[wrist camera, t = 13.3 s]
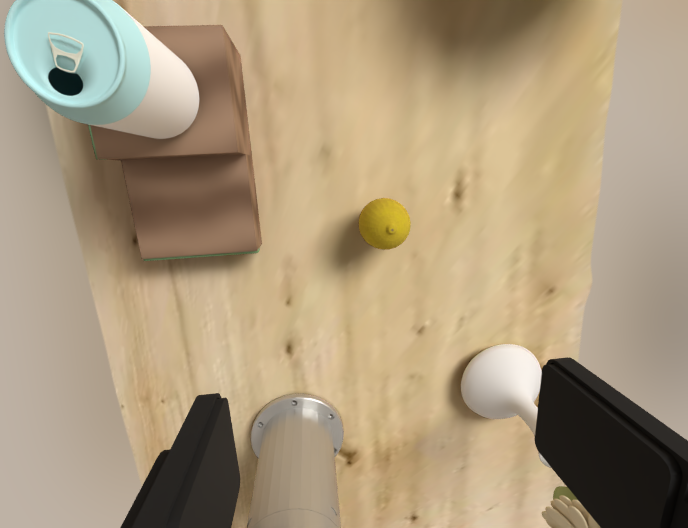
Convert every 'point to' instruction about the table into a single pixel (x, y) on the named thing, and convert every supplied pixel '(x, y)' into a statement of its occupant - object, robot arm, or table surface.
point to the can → (100, 67)
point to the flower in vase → (517, 412)
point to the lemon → (384, 223)
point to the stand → (193, 160)
